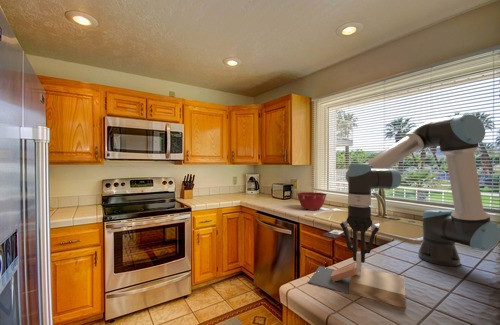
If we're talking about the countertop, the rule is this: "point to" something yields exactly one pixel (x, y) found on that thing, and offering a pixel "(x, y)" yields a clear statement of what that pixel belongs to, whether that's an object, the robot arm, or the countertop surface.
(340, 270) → the tile
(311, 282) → the mat
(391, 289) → the board
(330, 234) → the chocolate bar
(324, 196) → the mixing bowl
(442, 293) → the countertop surface
